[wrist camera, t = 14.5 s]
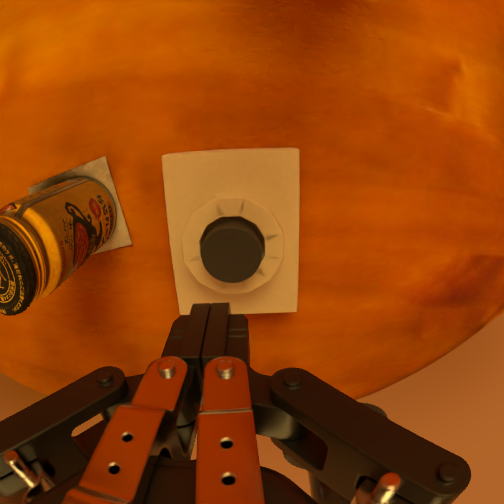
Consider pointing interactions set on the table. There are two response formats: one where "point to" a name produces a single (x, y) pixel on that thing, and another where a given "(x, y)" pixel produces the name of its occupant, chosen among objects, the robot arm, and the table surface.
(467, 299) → the table surface
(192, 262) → the housing
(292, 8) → the table surface
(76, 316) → the table surface
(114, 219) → the condiment
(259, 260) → the button
